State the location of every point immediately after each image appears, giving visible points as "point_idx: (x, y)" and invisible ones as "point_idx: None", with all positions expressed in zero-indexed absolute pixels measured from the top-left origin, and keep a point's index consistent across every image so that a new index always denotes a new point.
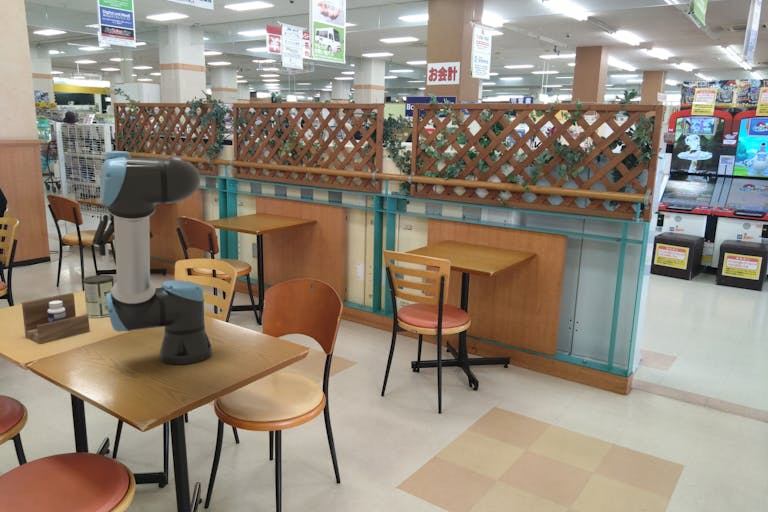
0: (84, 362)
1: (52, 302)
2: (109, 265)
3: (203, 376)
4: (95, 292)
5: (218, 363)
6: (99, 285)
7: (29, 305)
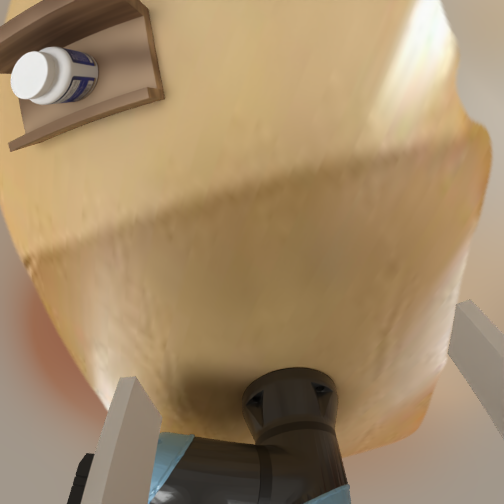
0: (115, 329)
1: (19, 75)
2: (161, 416)
3: None
4: None
5: None
6: None
7: None
